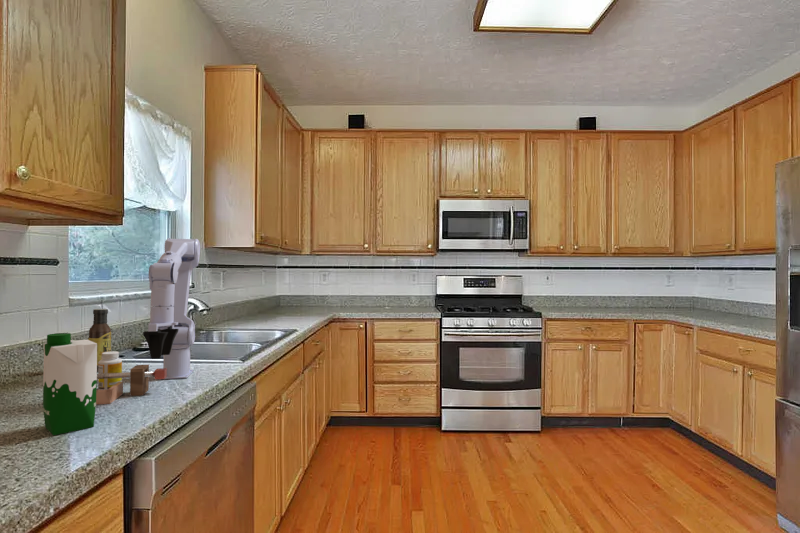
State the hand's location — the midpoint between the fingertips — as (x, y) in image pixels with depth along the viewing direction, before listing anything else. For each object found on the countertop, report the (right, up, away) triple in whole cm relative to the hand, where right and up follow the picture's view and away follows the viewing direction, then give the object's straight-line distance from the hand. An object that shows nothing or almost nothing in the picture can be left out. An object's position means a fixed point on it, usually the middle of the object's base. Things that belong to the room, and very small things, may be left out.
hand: (160, 356), depth 125 cm
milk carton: (-5, -10, -27) cm, 29 cm away
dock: (-13, -10, -7) cm, 18 cm away
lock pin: (-7, -6, -1) cm, 9 cm away
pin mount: (-5, -10, -1) cm, 11 cm away
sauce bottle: (-33, -10, +25) cm, 42 cm away
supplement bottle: (-15, -10, +2) cm, 18 cm away
